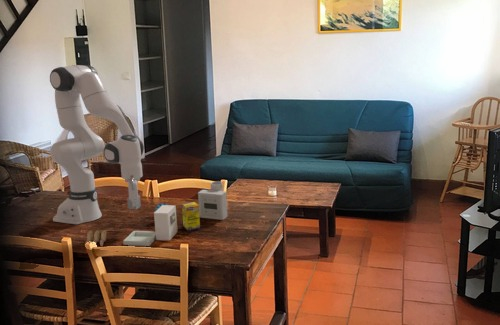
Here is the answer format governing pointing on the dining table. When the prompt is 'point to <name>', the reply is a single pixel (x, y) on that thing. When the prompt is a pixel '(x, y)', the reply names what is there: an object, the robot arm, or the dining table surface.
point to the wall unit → (165, 222)
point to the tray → (140, 238)
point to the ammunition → (97, 236)
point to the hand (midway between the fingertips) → (134, 203)
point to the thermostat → (213, 202)
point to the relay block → (136, 203)
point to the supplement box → (191, 216)
